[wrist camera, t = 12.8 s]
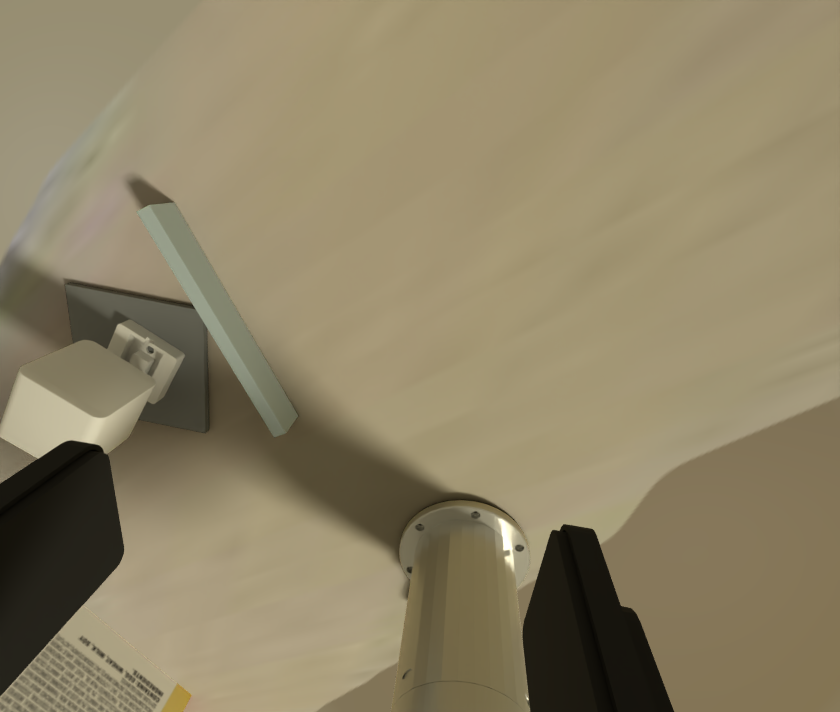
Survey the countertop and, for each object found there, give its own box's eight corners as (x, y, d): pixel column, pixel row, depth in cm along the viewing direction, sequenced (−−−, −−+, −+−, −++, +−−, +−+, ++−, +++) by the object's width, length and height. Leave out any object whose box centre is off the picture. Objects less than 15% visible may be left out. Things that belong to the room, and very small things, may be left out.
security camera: (98, 374, 41) (-9, 433, 32) (124, 315, 39) (15, 359, 29) (161, 413, 42) (73, 480, 33) (190, 356, 40) (104, 412, 30)
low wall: (298, 416, 41) (285, 433, 39) (287, 419, 42) (273, 437, 39) (174, 202, 35) (149, 204, 33) (162, 208, 36) (136, 211, 33)
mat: (208, 430, 43) (205, 433, 42) (87, 405, 43) (82, 408, 43) (206, 309, 38) (202, 311, 38) (70, 282, 39) (64, 284, 38)
